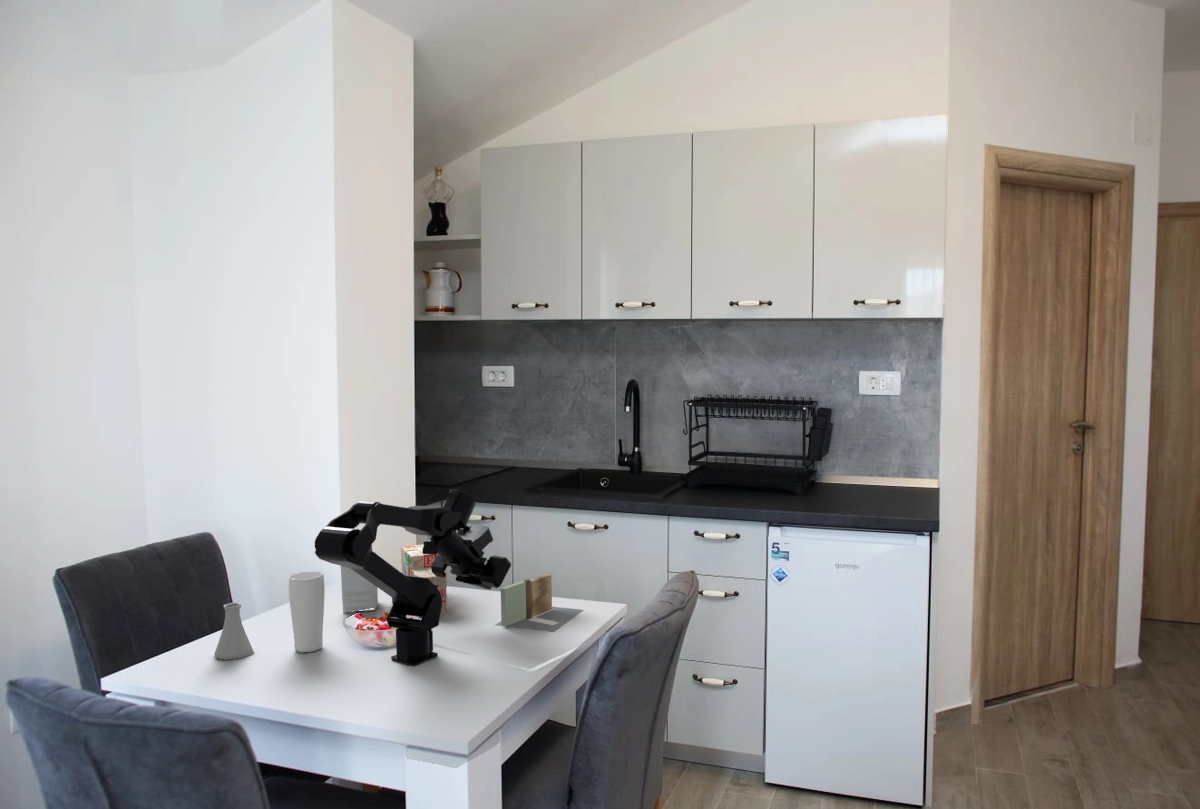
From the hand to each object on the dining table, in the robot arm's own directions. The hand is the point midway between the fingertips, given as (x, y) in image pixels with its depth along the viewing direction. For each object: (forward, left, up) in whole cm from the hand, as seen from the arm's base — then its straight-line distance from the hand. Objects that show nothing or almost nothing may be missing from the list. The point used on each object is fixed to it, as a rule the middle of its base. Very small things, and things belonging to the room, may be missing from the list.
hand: (490, 587), depth 183 cm
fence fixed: (+10, -5, -7) cm, 13 cm away
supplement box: (-8, +34, -8) cm, 36 cm away
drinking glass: (-32, +20, -8) cm, 38 cm away
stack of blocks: (+2, +23, -8) cm, 25 cm away
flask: (-42, +30, -8) cm, 52 cm away
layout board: (+8, -7, -8) cm, 13 cm away
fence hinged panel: (+2, -5, -7) cm, 9 cm away
